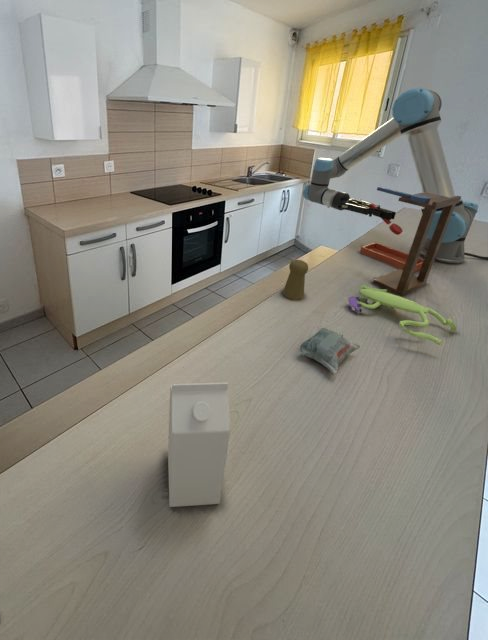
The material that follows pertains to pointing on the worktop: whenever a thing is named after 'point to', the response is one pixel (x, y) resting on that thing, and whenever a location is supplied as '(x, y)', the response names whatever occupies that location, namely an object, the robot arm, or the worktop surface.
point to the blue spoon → (407, 195)
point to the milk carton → (197, 443)
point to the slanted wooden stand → (420, 246)
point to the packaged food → (328, 348)
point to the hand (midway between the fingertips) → (392, 216)
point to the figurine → (401, 304)
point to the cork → (296, 280)
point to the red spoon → (393, 227)
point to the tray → (388, 255)
